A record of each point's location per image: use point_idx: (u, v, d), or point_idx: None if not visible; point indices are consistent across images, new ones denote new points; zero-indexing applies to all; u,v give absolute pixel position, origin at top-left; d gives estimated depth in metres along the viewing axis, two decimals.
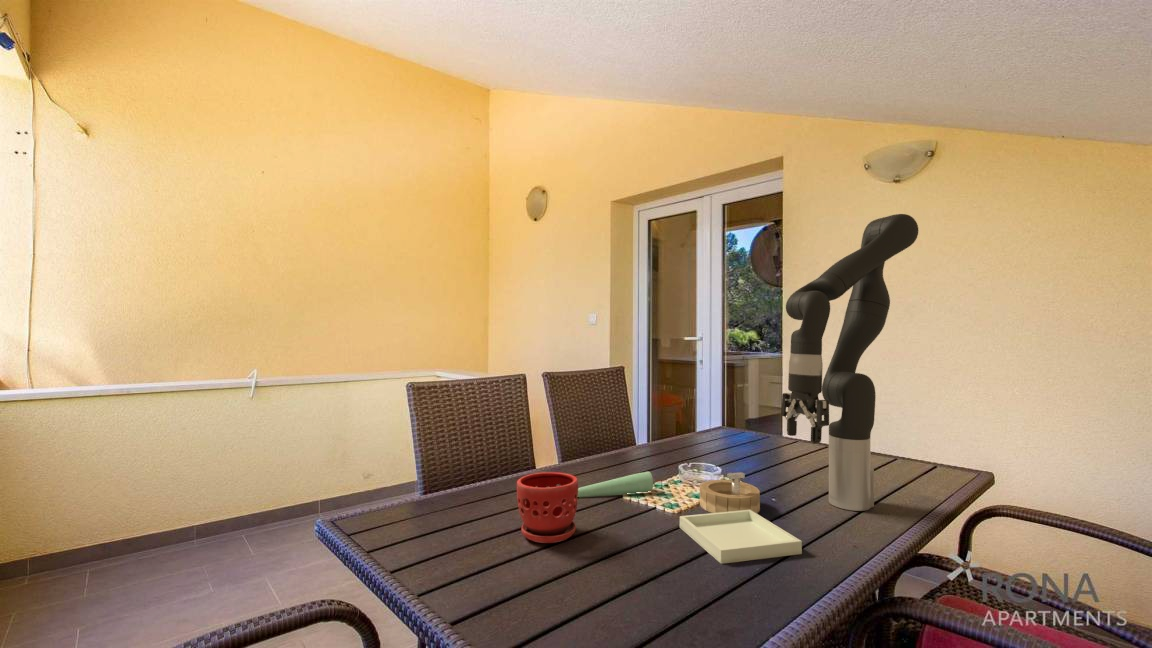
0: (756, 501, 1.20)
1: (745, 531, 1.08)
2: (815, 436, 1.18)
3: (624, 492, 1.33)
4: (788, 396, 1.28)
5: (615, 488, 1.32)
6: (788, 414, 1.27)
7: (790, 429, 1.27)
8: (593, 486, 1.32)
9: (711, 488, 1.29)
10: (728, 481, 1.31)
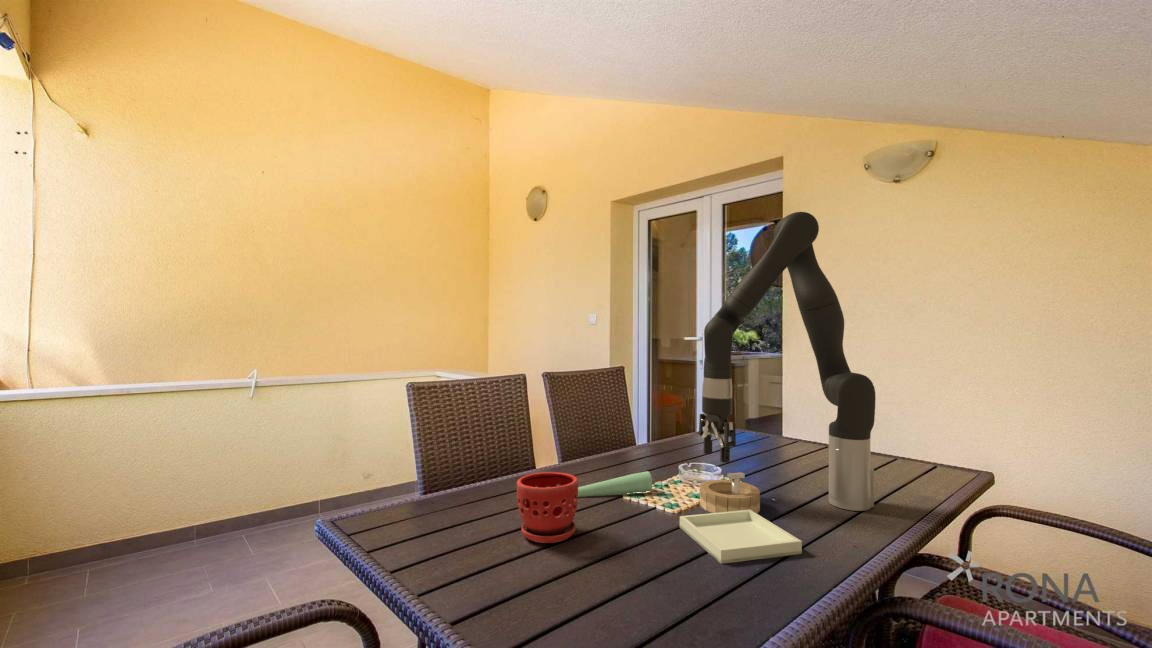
0: (756, 501, 1.20)
1: (745, 531, 1.08)
2: (724, 456, 1.26)
3: (623, 492, 1.33)
4: (704, 417, 1.36)
5: (614, 488, 1.33)
6: (704, 434, 1.34)
7: (706, 448, 1.34)
8: (592, 486, 1.33)
9: (711, 488, 1.29)
10: (728, 481, 1.31)
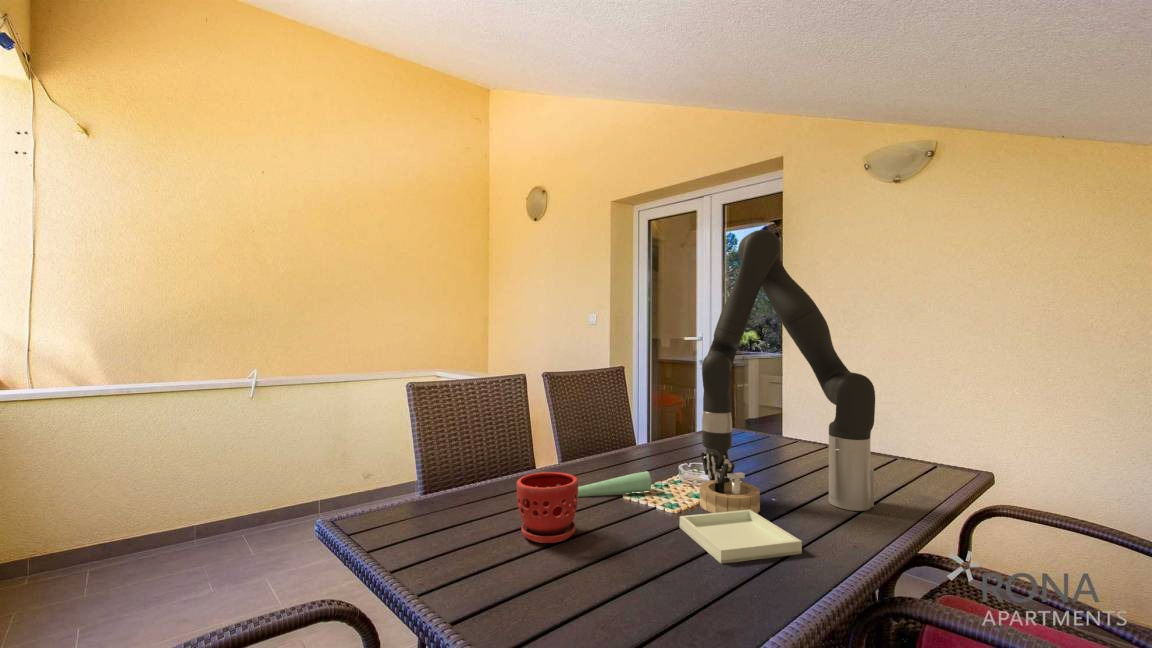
0: (756, 501, 1.20)
1: (745, 531, 1.08)
2: (718, 491, 1.29)
3: (622, 492, 1.33)
4: (705, 454, 1.35)
5: (613, 487, 1.33)
6: (710, 474, 1.32)
7: None
8: (591, 485, 1.33)
9: (711, 488, 1.29)
10: None
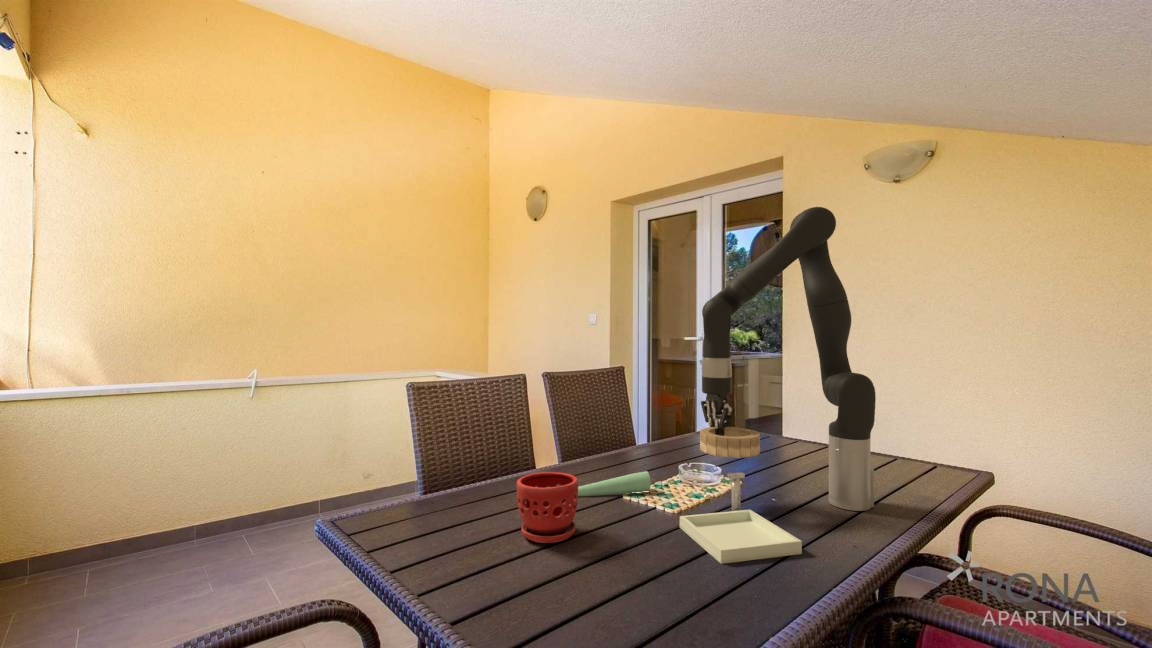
0: (756, 442, 1.20)
1: (745, 531, 1.08)
2: None
3: (621, 492, 1.33)
4: (705, 402, 1.36)
5: (612, 487, 1.33)
6: (710, 420, 1.32)
7: None
8: (590, 485, 1.33)
9: (711, 434, 1.29)
10: (728, 427, 1.31)
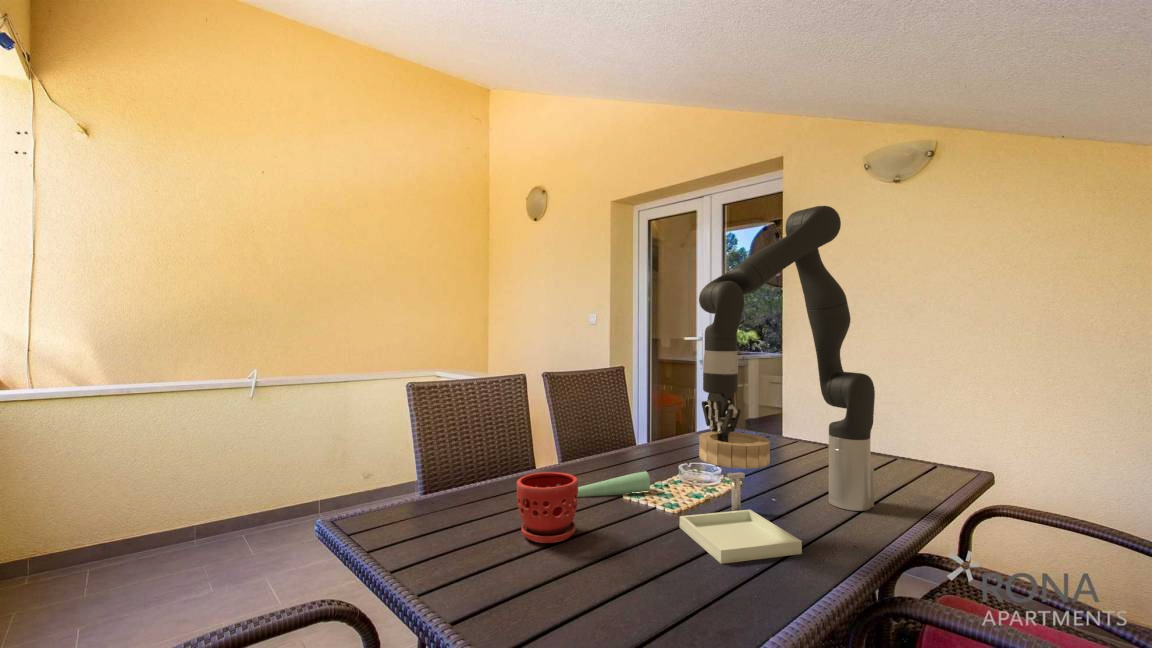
0: (765, 451, 1.02)
1: (745, 531, 1.08)
2: None
3: (621, 492, 1.33)
4: (707, 402, 1.17)
5: (612, 488, 1.33)
6: (712, 424, 1.14)
7: None
8: (590, 486, 1.33)
9: None
10: (733, 432, 1.13)
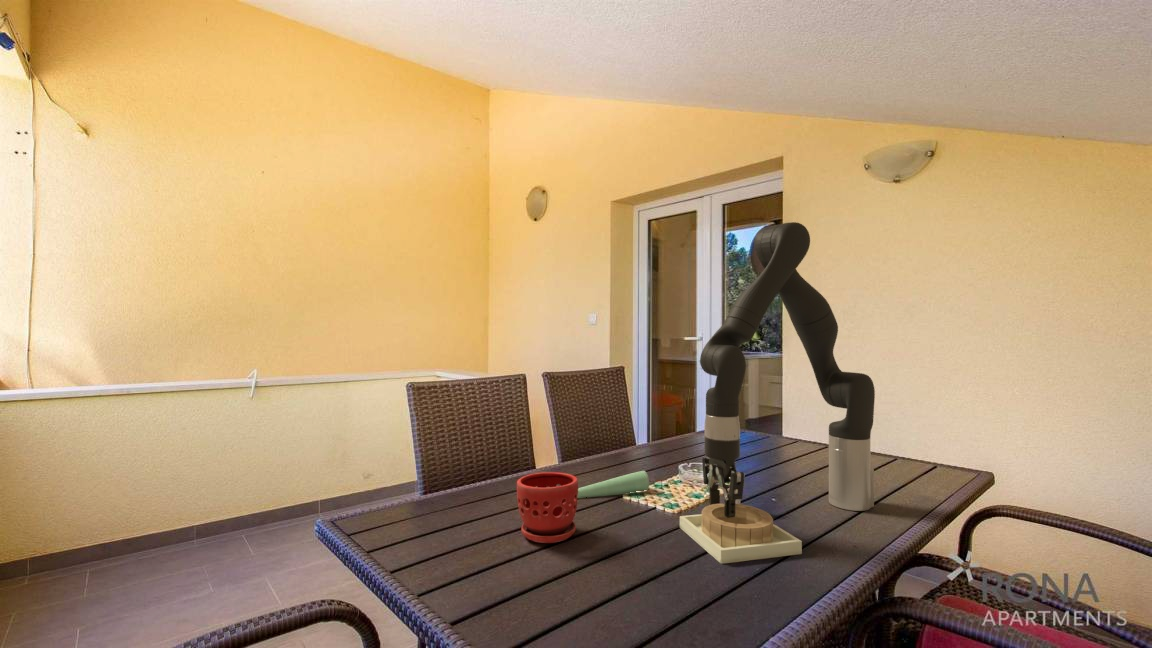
0: (769, 531, 1.01)
1: None
2: (728, 510, 1.07)
3: (621, 492, 1.33)
4: (708, 461, 1.16)
5: (612, 488, 1.33)
6: (709, 483, 1.14)
7: (712, 500, 1.14)
8: (590, 487, 1.32)
9: (715, 514, 1.09)
10: None
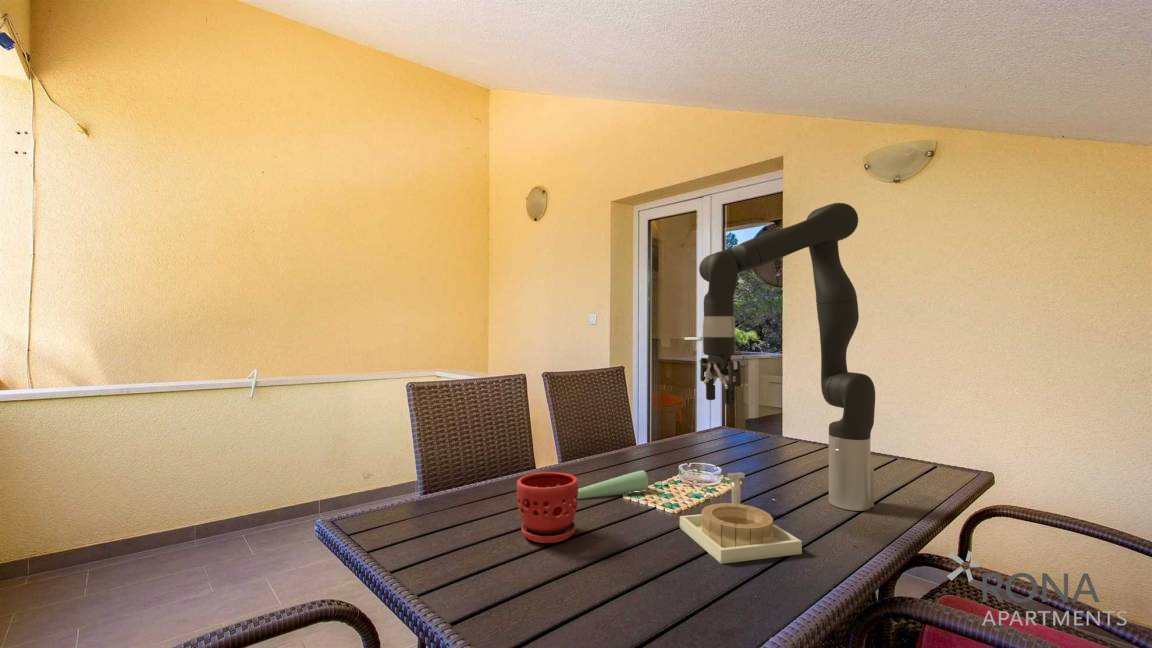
0: (769, 531, 1.01)
1: None
2: (728, 398, 1.17)
3: (621, 492, 1.33)
4: (706, 360, 1.27)
5: (612, 488, 1.32)
6: (706, 378, 1.26)
7: (708, 393, 1.25)
8: (590, 487, 1.32)
9: (715, 514, 1.09)
10: (734, 504, 1.12)
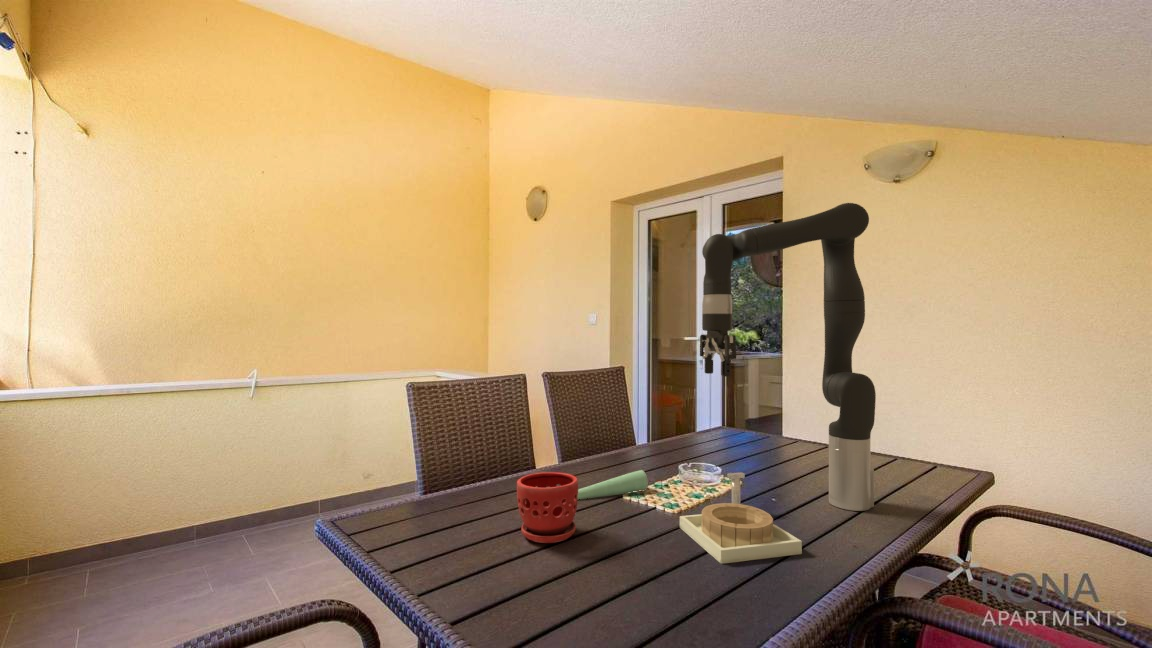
0: (769, 531, 1.01)
1: None
2: (724, 370, 1.26)
3: (620, 492, 1.33)
4: (705, 337, 1.36)
5: (612, 488, 1.32)
6: (704, 353, 1.35)
7: (707, 367, 1.35)
8: (590, 487, 1.31)
9: (715, 514, 1.09)
10: (734, 504, 1.12)
